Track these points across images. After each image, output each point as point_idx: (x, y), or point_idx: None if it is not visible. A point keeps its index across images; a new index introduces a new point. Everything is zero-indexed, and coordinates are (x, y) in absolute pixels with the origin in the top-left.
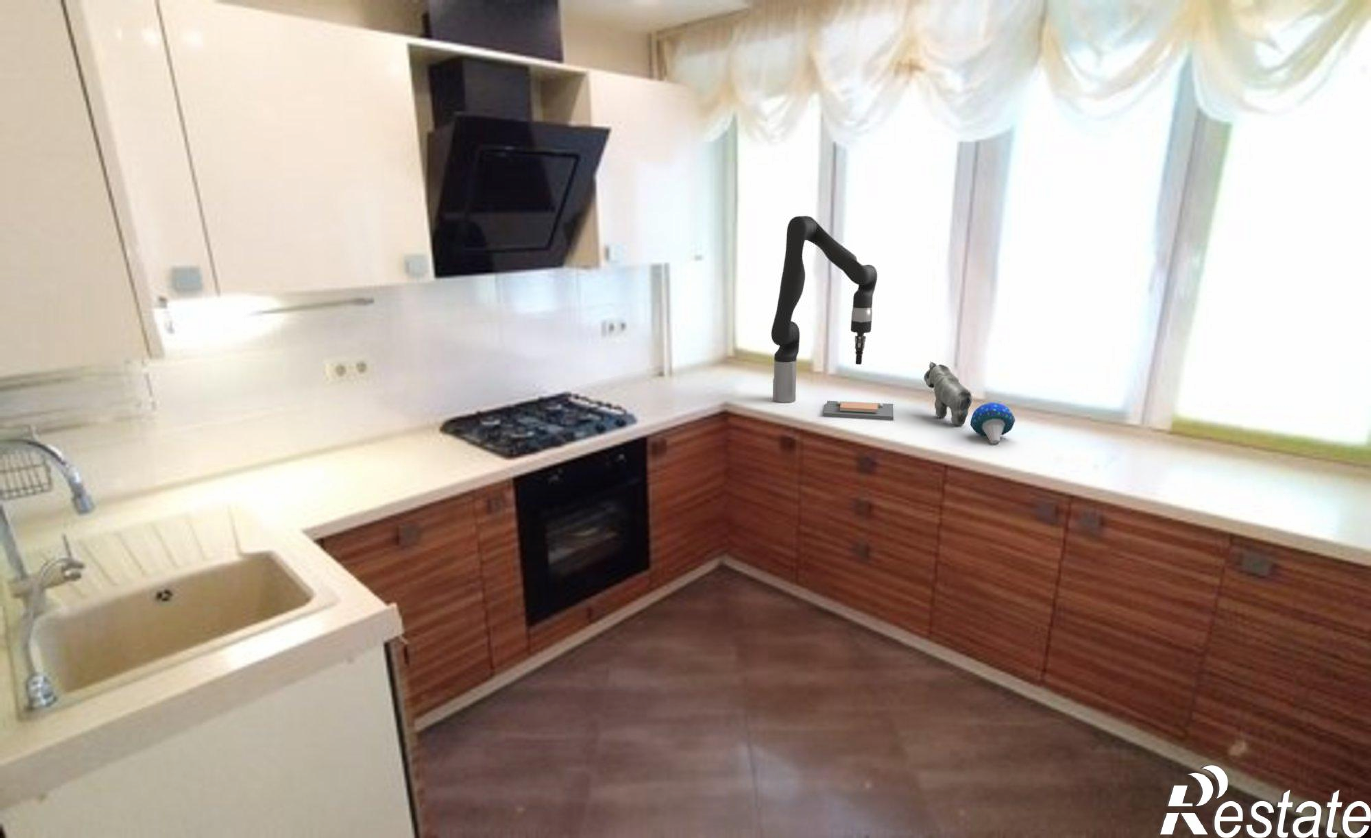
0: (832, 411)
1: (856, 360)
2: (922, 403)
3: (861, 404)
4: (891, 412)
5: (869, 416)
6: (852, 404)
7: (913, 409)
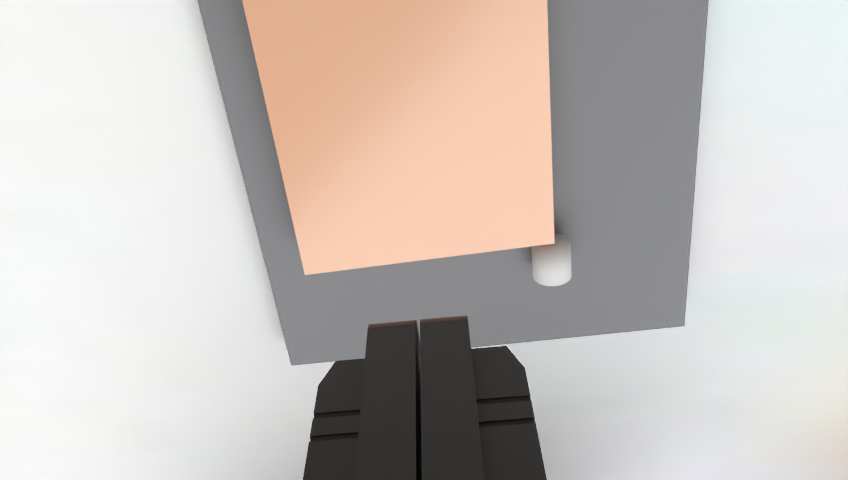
0: None
1: (369, 395)
2: (818, 468)
3: (451, 108)
4: None
5: (251, 190)
6: (419, 14)
7: (640, 432)
